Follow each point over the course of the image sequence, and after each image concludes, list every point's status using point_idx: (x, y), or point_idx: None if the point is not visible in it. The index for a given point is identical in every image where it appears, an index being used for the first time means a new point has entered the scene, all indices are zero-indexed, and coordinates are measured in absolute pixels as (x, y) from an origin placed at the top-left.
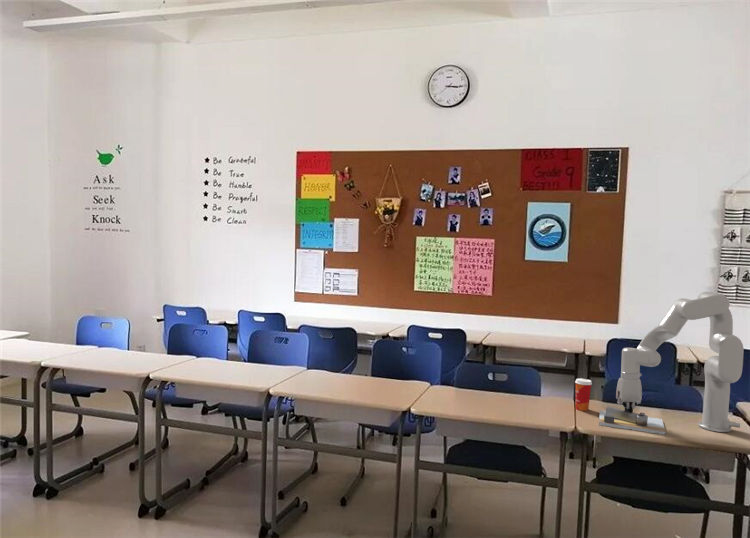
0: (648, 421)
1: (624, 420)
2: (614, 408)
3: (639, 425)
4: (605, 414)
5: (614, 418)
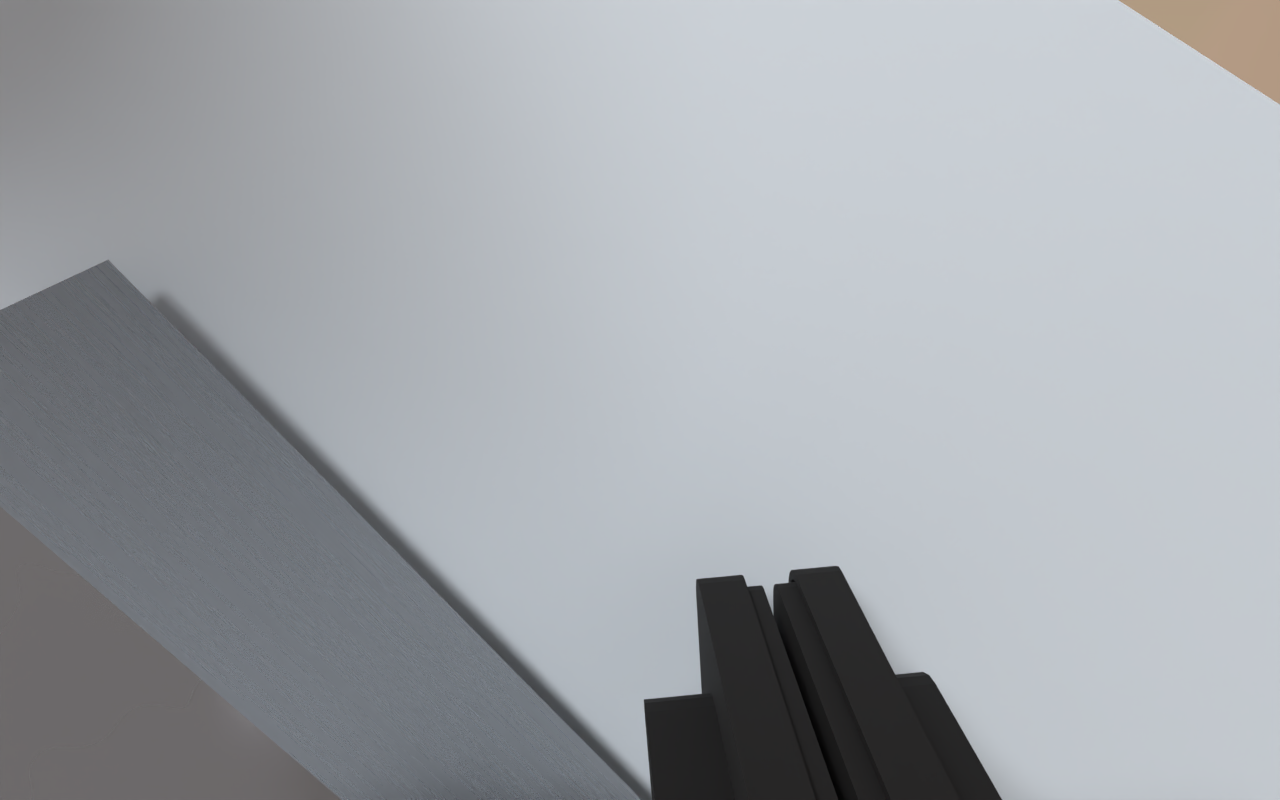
0: (1263, 770)
1: None
2: (105, 778)
3: None
4: (32, 87)
5: None
